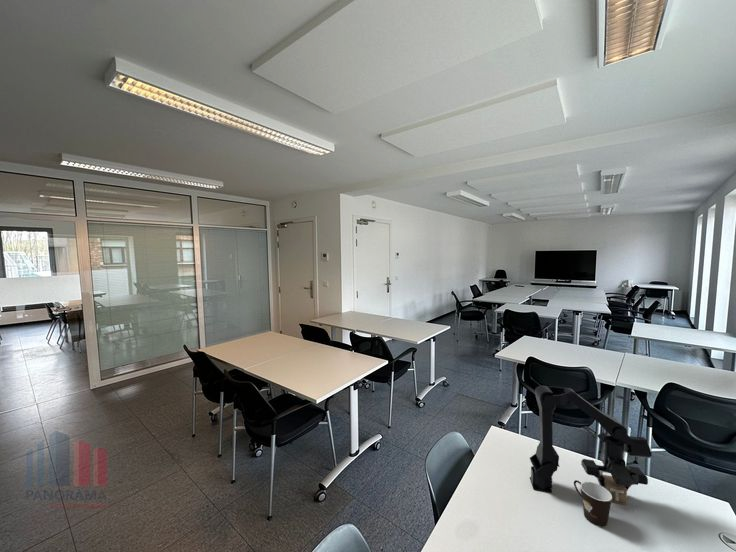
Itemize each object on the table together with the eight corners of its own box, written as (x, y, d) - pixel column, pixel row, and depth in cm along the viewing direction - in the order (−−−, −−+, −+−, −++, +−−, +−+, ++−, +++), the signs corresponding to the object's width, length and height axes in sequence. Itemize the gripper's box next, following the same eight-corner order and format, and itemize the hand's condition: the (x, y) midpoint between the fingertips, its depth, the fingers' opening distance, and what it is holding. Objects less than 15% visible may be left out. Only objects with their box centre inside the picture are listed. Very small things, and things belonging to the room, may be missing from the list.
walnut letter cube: (607, 501, 108) (607, 486, 108) (599, 488, 114) (599, 474, 114) (627, 505, 106) (627, 489, 106) (618, 492, 112) (618, 477, 112)
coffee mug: (617, 532, 96) (618, 503, 95) (588, 527, 98) (588, 499, 97) (597, 503, 107) (597, 477, 107) (571, 500, 109) (571, 474, 109)
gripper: (593, 462, 105) (592, 503, 105) (658, 472, 99) (657, 516, 100) (581, 443, 115) (580, 481, 116) (639, 452, 110) (638, 491, 110)
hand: (612, 492), depth 110 cm, fingers closed on walnut letter cube, 6 cm apart
